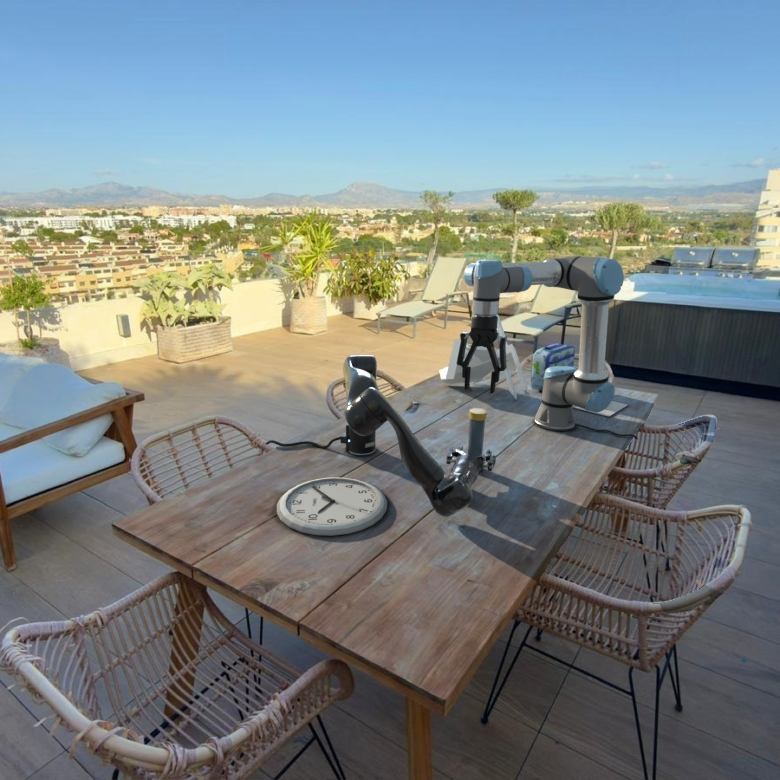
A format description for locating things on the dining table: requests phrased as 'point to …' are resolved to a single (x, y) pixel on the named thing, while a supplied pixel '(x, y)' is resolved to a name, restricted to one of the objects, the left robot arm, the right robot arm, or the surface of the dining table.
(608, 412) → the invitation card
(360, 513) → the wall clock
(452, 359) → the white plastic object
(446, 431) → the dining table surface
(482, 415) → the lid
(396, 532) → the dining table surface
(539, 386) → the lunch box
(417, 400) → the fork
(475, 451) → the bottle
